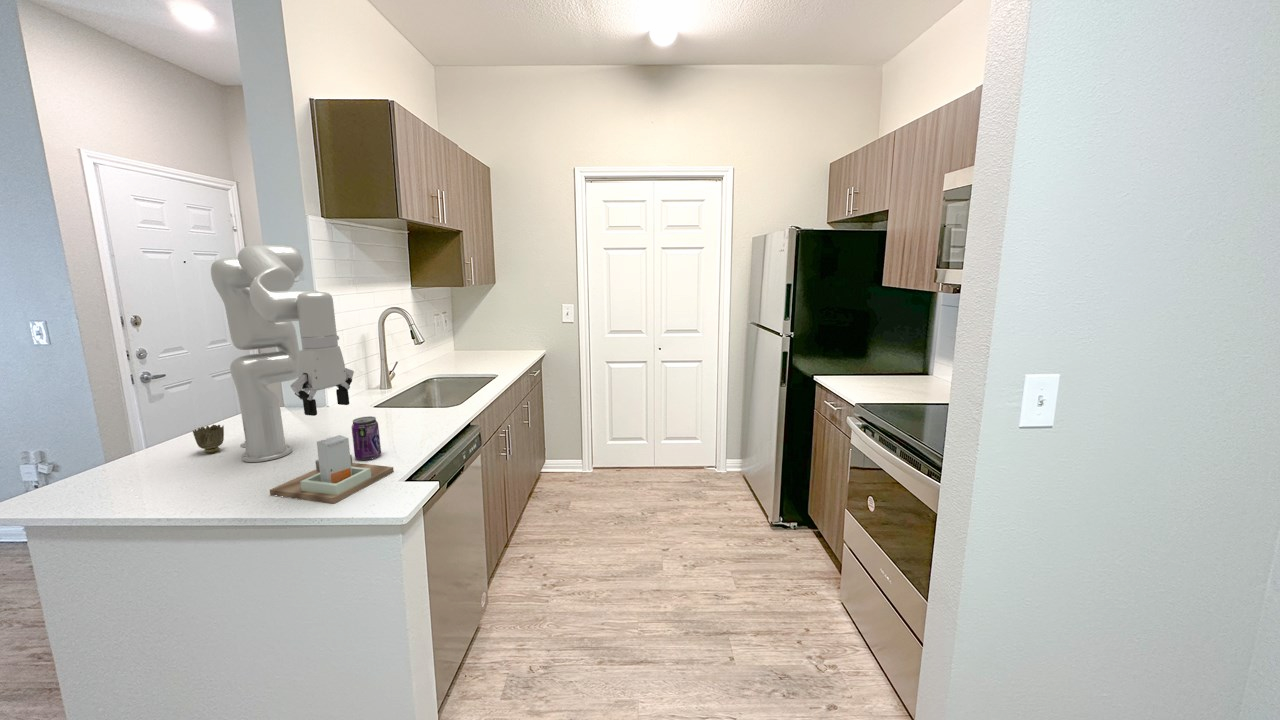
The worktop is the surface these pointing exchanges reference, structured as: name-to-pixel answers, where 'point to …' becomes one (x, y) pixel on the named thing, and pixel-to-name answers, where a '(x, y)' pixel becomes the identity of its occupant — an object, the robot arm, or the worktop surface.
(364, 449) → the beverage can
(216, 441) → the cup
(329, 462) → the skincare box
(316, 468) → the sun gear
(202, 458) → the worktop surface
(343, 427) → the worktop surface
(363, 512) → the worktop surface
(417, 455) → the worktop surface
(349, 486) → the green square frame
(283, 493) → the carrier plate
